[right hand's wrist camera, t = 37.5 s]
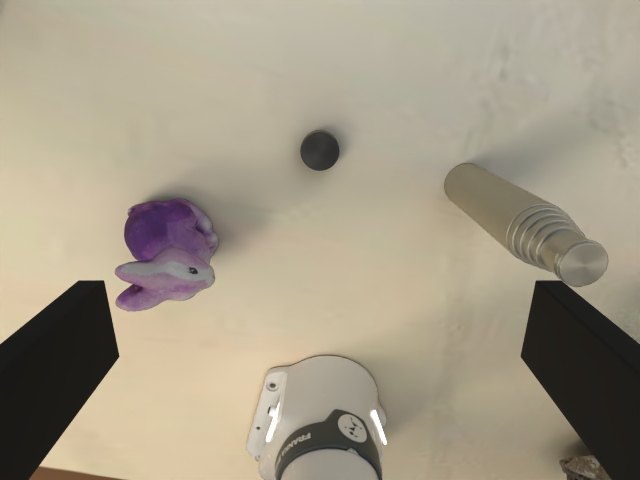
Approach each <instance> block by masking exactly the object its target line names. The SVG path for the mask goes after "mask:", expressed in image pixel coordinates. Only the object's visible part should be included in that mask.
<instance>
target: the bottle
mask: <svg viewBox="0 0 640 480" xmlns="http://www.w3.org/2000/svg"><path fill="white" fill-rule="evenodd" d="M444 188H445V192H446V195H447V196H448V198H449V199H450V200H451V201H453V202H454V203H455V204H456V205H457V206H458V207H459V208H460V209H462V210H463V211H464V212H465V213H466V214H467V215H468V216H470V217H471V218H472V219H473V220H474V221H475V222H476V223H477V224H479V225H480V226H481V227H482V228H483V229H484V230H485V231H487V232H488V233H489V234H490V235H491V236H492V237H493V238H494V239H496V240H497V241H498V242H499V243H500V244H501V245H502V246H504V247H505V248H506V249H507V250H508V251H509V252H510V253H512V254H513V255H514V256H515V257H516V258H518V259H520V260H522V261H523V262H525V263H528V264H531V265H533V266H536V267H539V268H541V269H545V270H547V271H550V272H554V273H555V274H556V275H557V277H558V278H559V279H560V280H562V281H563V282H564V283H566V284H567V285H569V286H574V287H581V286H585V285H589V284H591V283H593V282H595V281H596V280H598V279H599V278H600V277H601V276H602V275H603V274H604V272H605V270H606V268H607V265H608V255H607V253H606V251H605V250H604V248H603V247H602V246H601V245H600V244H599V243H597V242H595V241H592V240H589V239H587V238H586V237H585V235H584V234H583V232H582V231H580V229H579V228H578V226H577V225H576V224H575V223H574V222H573V221H572V220H571V218H570V217H569V216H568V215H567V214H566V213H565V212H564V211H562V210H561V209H560V208H559V207H557V206H555V205H553V204H551V203H549V202H547V201H545V200H543V199H541V198H539V197H537V196H535V195H533V194H532V193H530V192H528V191H526V190H524V189H522V188H520V187H518V186H516V185H514V184H512V183H510V182H508V181H506V180H504V179H502V178H500V177H498V176H497V175H495V174H493V173H491V172H489V171H487V170H485V169H483V168H481V167H479V166H477V165H475V164H471V163H465V164H461V165H458V166H456V167H455V168H453V169H452V170H451V171H450V172H449V174H448V175H447V177H446V180H445V185H444Z"/></svg>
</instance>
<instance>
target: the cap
mask: <svg viewBox="0 0 640 480" xmlns="http://www.w3.org/2000/svg"><path fill="white" fill-rule="evenodd" d="M338 156H339V146H338V143H337V140H336V139H335V137H334V136H333V135H332V134H331V133H329V132H327V131H324V130H316V131H313V132H311V133H309V134H308V135H307V136H306V137H305V138H304V140H303V142H302V145H301V157H302V159H303V161H304V163H305V164H306V165H307V166H308V167H310V168H311V169H314V170H318V171H322V170H326V169H329V168H330V167H332V166H333V165H334V164H335V162H336V161H337V159H338Z"/></svg>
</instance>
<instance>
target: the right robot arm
mask: <svg viewBox="0 0 640 480" xmlns="http://www.w3.org/2000/svg"><path fill="white" fill-rule="evenodd" d="M118 358H119V352H118V348H117V343H116V338H115V333H114V328H113V323H112V318H111V313H110V308H109V303H108V298H107V293H106V288H105V283H104V281H78V282H76V283H75V284H74V285H73V286H72V287H70V288H69V289H68V290H67V291H65V292H64V293H63V294H62V295H60V296H59V297H58V298H57V299H56V300H54V301H53V302H52V303H51V304H49V305H48V306H47V307H46V308H44V309H43V310H42V311H41V312H39V313H38V314H37V315H36V316H35V317H33V318H32V319H31V320H30V321H28V322H27V323H26V324H25V325H23V326H22V327H21V328H20V329H19V330H17V331H16V332H15V333H14V334H12V335H11V336H10V337H9V338H7V339H6V340H5V341H4V342H3V343H1V344H0V480H29V478H30V477H31V476H32V474H33V473H34V472H35V470H36V469H37V468H38V466H39V465H40V464H41V462H42V461H43V459H44V458H45V457H46V455H47V454H48V453H49V451H50V450H51V449H52V447H53V446H54V445H55V443H56V442H57V440H58V439H59V438H60V436H61V435H62V434H63V432H64V431H65V430H66V428H67V427H68V426H69V424H70V423H71V422H72V420H73V419H74V417H75V416H76V415H77V413H78V412H79V411H80V409H81V408H82V407H83V405H84V404H85V403H86V401H87V400H88V398H89V397H90V396H91V394H92V393H93V392H94V390H95V389H96V388H97V386H98V385H99V384H100V382H101V381H102V379H103V378H104V377H105V375H106V374H107V373H108V371H109V370H110V369H111V367H112V366H113V365H114V363H115V362H116V361H117V359H118ZM521 358H522V359H523V361H524V362H525V363H526V365H527V366H528V367H529V369H530V370H531V371H532V373H533V374H534V375H535V377H536V378H537V379H538V381H539V382H540V384H541V385H542V386H543V388H544V389H545V390H546V392H547V393H548V394H549V396H550V397H551V398H552V400H553V401H554V403H555V404H556V405H557V407H558V408H559V409H560V411H561V412H562V413H563V415H564V416H565V417H566V419H567V420H568V422H569V423H570V424H571V426H572V427H573V428H574V430H575V431H576V432H577V434H578V435H579V436H580V438H581V439H582V440H583V442H584V443H585V445H586V446H587V447H588V449H589V450H590V451H591V453H592V454H593V455H594V457H595V458H596V459H597V461H598V462H599V464H600V465H601V466H602V468H603V469H604V470H605V472H606V473H607V474H608V476H609V477H610V478H611V480H640V344H639V343H637V342H636V341H635V340H634V339H633V338H631V337H630V336H629V335H628V334H626V333H625V332H624V331H623V330H621V329H620V328H619V327H618V326H617V325H615V324H614V323H613V322H612V321H610V320H609V319H608V318H607V317H605V316H604V315H603V314H602V313H601V312H599V311H598V310H597V309H596V308H594V307H593V306H592V305H591V304H589V303H588V302H587V301H586V300H584V299H583V298H582V297H581V296H580V295H578V294H577V293H576V292H575V291H573V290H572V289H571V288H570V287H568V286H567V285H566V284H565V283H564V282H562V281H536V283H535V288H534V293H533V298H532V303H531V308H530V313H529V318H528V323H527V328H526V333H525V338H524V343H523V348H522V352H521Z"/></svg>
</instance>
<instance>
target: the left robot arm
mask: <svg viewBox="0 0 640 480" xmlns="http://www.w3.org/2000/svg"><path fill="white" fill-rule="evenodd" d="M271 383H274V385H272V384H271ZM385 425H386V415H385V413H384V411H383V409H382V408H381V406H380V405H379V401H378V391H377V387H376V384H375V382H374V380H373V378H372V376H371V375H370V374H369V373H368V372H367V371H366V370H365V369H364V368H363V367H362V366H360V365H359V364H357V363H355V362H353V361H351V360H349V359H346V358H342V357H338V356H317V357H312V358H309V359H306V360H303V361H301V362H299V363H297V364H294V365H292V366H287V367H277V368H272V369H270V370H269V371H268V372H267V374H266V377H265V380H264V383H263V387H262V390H261V394H260V397H259V401H258V404H257V407H256V411H255V414H254V418H253V421H252V424H251V428H250V431H249V435H248V438H247V442H246V450H247V452H248V453H249V454H250V455H251V456H252V457H253V458H254V459H255V460H257V461H258V462H259V464H258V472H259V474H260V475H261V477H262V478H263V479H264V480H382V465H381V461H382V459H383V443H382V439H383V442H384V444H387V443H386V439H385V436H384V433H383V430H382V428H383V427H384V426H385Z"/></svg>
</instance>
